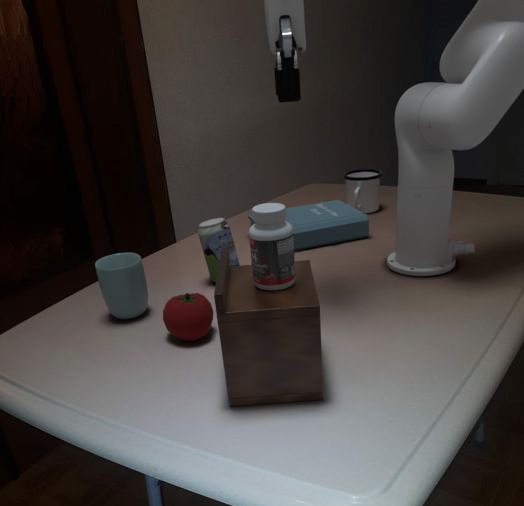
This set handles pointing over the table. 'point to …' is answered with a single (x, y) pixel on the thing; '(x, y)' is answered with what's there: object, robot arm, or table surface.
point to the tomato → (188, 316)
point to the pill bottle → (271, 247)
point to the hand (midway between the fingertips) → (287, 98)
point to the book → (325, 224)
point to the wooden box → (269, 336)
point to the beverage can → (216, 244)
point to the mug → (363, 189)
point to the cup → (123, 284)
